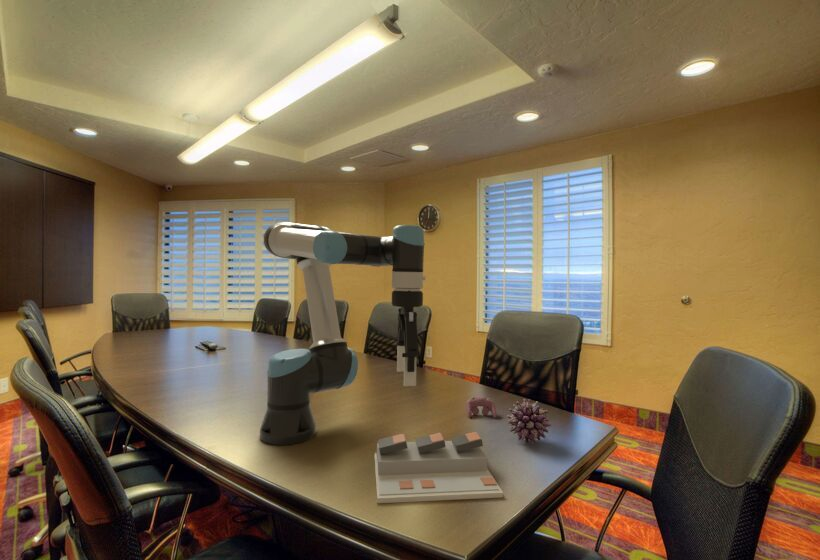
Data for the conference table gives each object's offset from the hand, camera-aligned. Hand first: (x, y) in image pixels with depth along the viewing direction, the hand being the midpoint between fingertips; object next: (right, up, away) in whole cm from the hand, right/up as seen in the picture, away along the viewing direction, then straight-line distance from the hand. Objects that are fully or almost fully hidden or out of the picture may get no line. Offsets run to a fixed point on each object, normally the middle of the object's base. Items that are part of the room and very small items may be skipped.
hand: (405, 378), depth 93 cm
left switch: (-3, -15, -2) cm, 16 cm away
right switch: (+15, -16, 0) cm, 21 cm away
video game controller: (+25, -22, +35) cm, 48 cm away
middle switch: (+6, -15, -1) cm, 16 cm away
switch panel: (+6, -21, -5) cm, 23 cm away
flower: (+34, -22, +15) cm, 43 cm away
